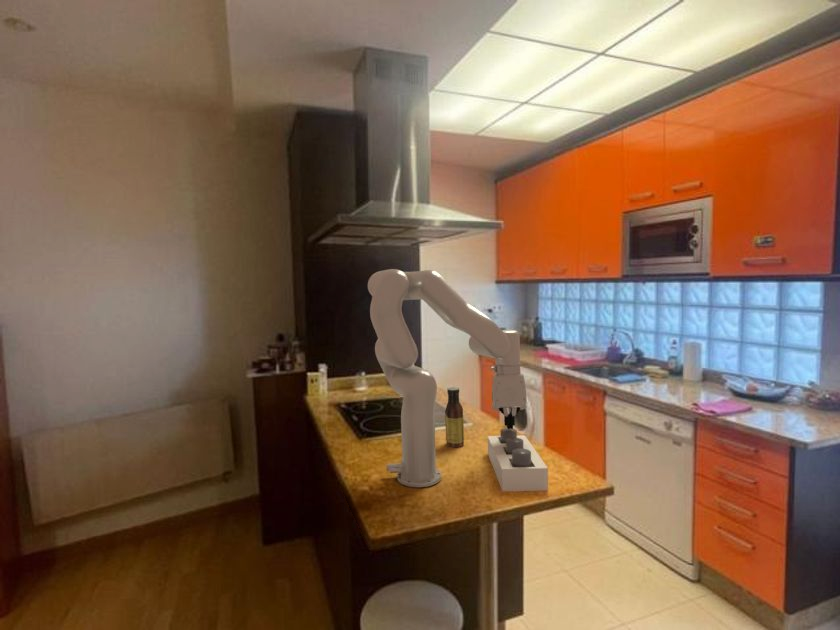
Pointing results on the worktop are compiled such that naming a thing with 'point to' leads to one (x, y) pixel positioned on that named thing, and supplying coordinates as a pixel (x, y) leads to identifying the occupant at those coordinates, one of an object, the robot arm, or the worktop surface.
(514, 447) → the middle cap
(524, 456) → the near cap
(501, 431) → the far cap
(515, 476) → the button panel
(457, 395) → the sauce bottle
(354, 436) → the worktop surface
